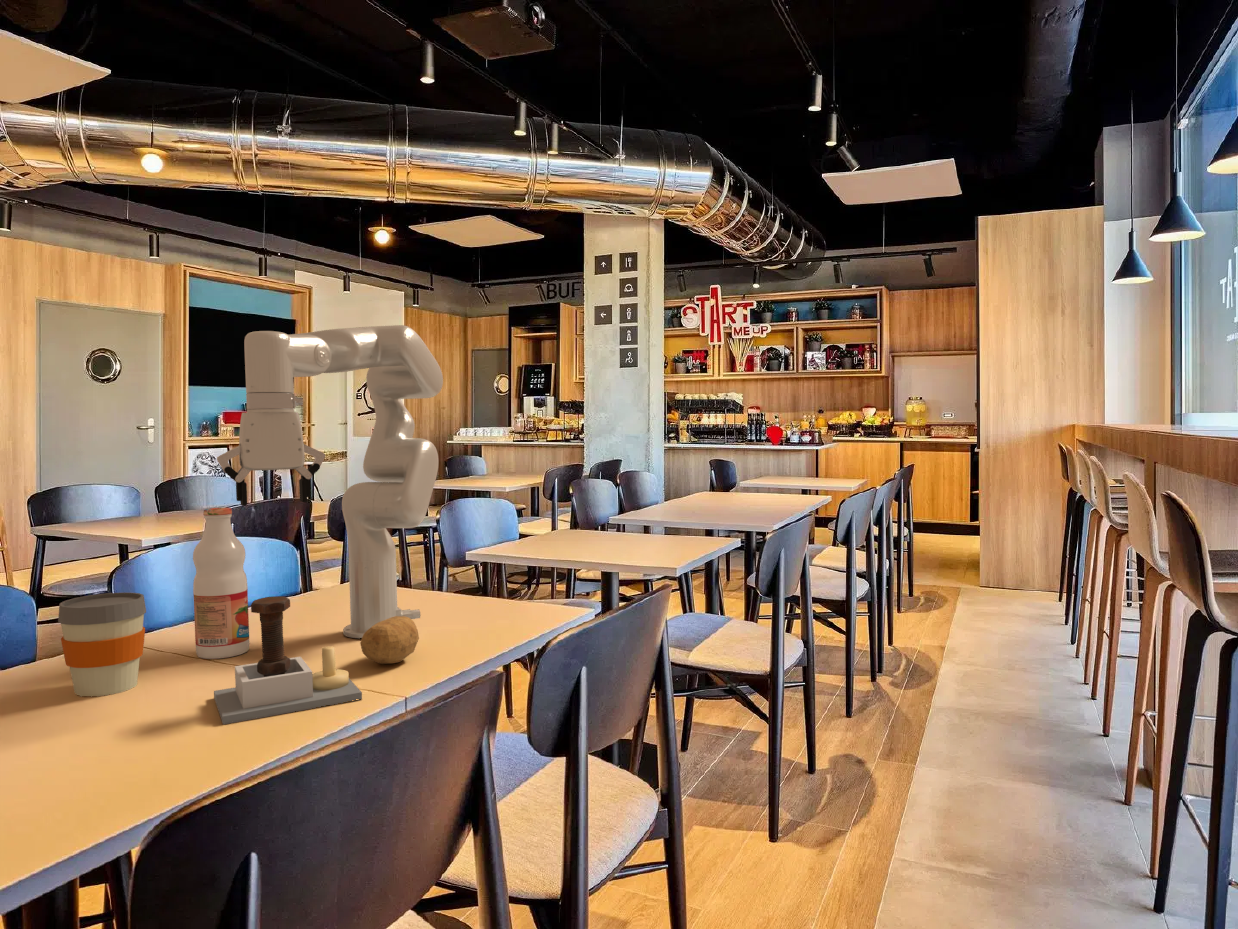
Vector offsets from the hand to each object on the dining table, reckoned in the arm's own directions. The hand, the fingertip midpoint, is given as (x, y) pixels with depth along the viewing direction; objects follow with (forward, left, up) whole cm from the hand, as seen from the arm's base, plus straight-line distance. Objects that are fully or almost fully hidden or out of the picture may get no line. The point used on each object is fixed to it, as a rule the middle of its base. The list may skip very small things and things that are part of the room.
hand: (274, 503), depth 144 cm
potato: (-19, +2, -31) cm, 36 cm away
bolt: (+3, +14, -29) cm, 32 cm away
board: (+1, +14, -30) cm, 33 cm away
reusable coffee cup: (+26, -9, -30) cm, 41 cm away
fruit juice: (+7, -22, -30) cm, 38 cm away
